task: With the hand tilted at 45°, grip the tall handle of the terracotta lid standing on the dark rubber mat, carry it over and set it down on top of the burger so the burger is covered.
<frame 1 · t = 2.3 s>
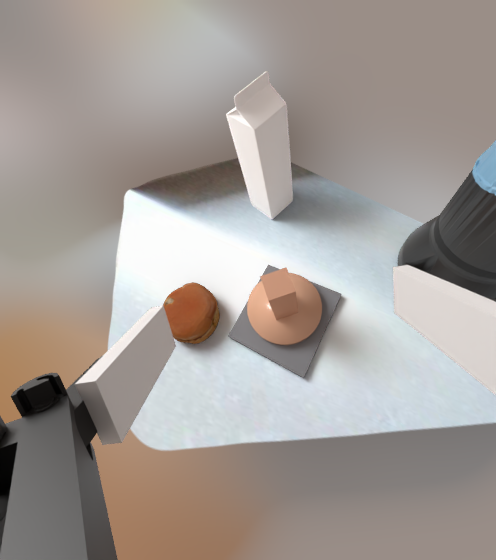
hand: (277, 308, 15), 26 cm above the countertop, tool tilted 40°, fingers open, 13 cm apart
milk: (272, 203, 51), on the countertop
burger: (195, 316, 45), on the countertop
lid: (284, 308, 41), point 1 cm above the countertop, touching mat
mat: (284, 316, 41), on the countertop
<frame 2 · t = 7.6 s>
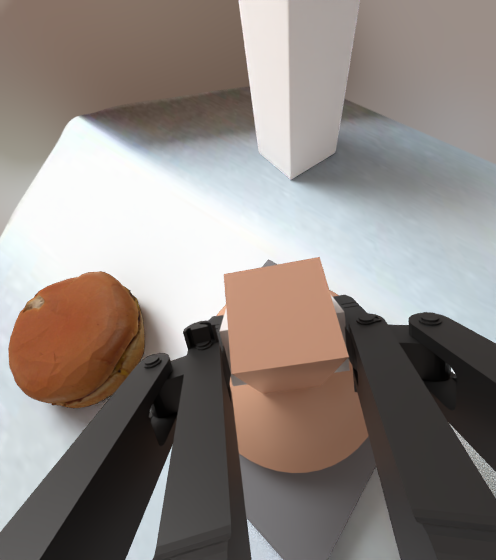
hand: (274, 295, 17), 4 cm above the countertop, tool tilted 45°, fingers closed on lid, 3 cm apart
milk: (295, 154, 28), on the countertop
burger: (99, 342, 22), on the countertop
lid: (286, 363, 17), point 1 cm above the countertop, touching gripper, mat
mat: (284, 382, 18), on the countertop
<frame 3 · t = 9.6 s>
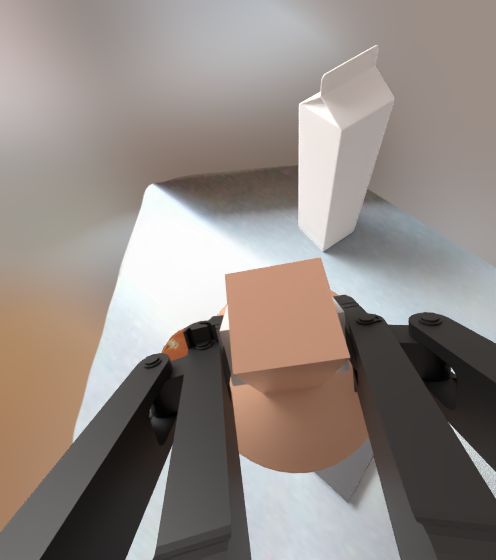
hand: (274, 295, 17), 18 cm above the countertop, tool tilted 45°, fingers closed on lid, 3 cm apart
milk: (325, 230, 40), on the countertop
burger: (203, 366, 34), on the countertop
lid: (287, 363, 17), point 15 cm above the countertop, touching gripper
mat: (326, 393, 30), on the countertop
when the fingers open (9 cm above the countertop, at t = 11.9 s): lid drops 2 cm, resting on burger.
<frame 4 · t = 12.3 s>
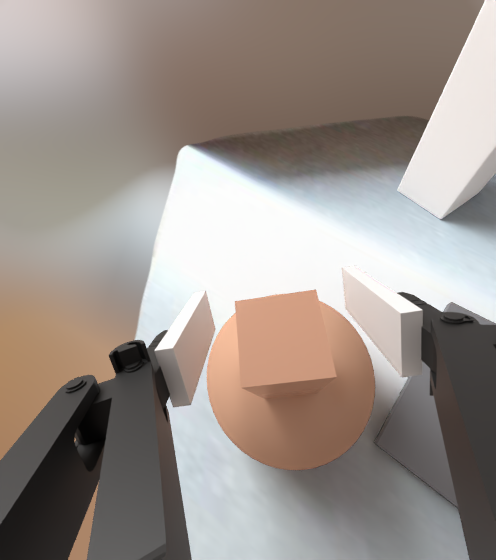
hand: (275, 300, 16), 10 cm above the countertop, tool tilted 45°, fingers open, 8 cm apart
milk: (435, 193, 30), on the countertop
lid: (286, 371, 19), point 4 cm above the countertop, touching burger
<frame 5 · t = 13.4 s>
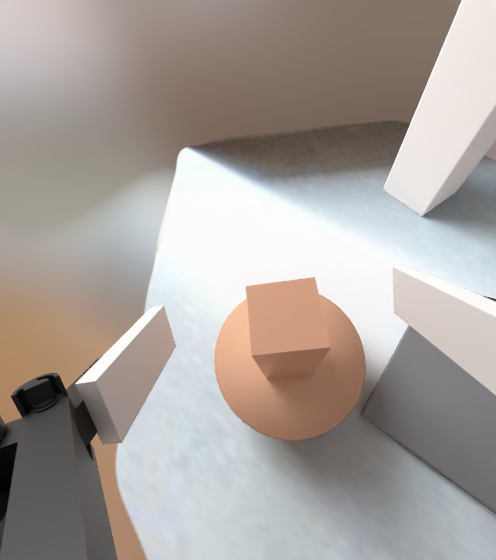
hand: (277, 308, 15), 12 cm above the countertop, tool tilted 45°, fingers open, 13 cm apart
milk: (417, 192, 33), on the countertop
lid: (286, 356, 21), point 4 cm above the countertop, touching burger
mat: (472, 394, 22), on the countertop
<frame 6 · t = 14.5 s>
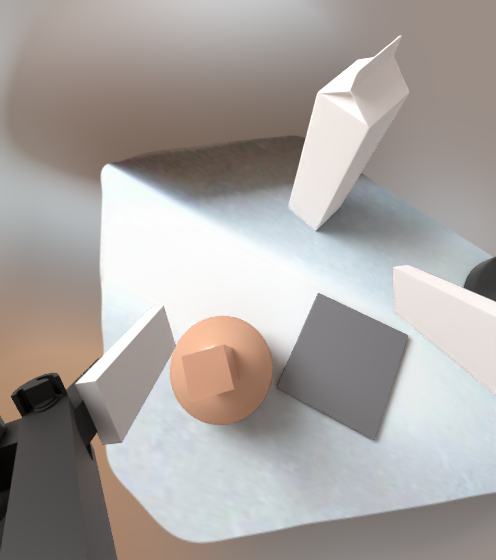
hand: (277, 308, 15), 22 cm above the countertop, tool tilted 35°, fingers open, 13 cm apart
milk: (313, 208, 41), on the countertop
lid: (222, 366, 30), point 5 cm above the countertop, touching burger
mat: (342, 360, 34), on the countertop
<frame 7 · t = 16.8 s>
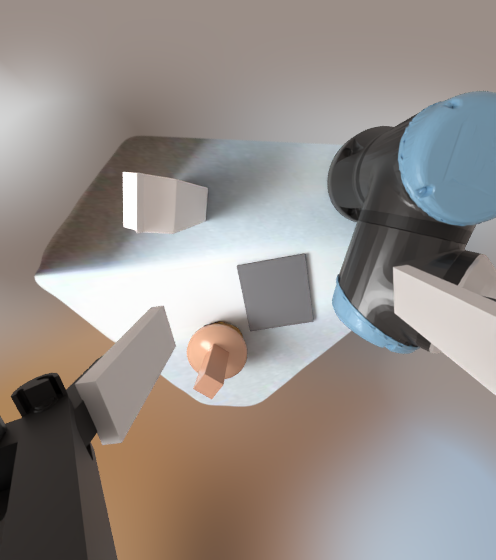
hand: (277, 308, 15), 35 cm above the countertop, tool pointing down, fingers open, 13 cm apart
milk: (191, 202, 47), on the countertop
lid: (217, 350, 50), point 4 cm above the countertop, touching burger
mat: (275, 293, 51), on the countertop
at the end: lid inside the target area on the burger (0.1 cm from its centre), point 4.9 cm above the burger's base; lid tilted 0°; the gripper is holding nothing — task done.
